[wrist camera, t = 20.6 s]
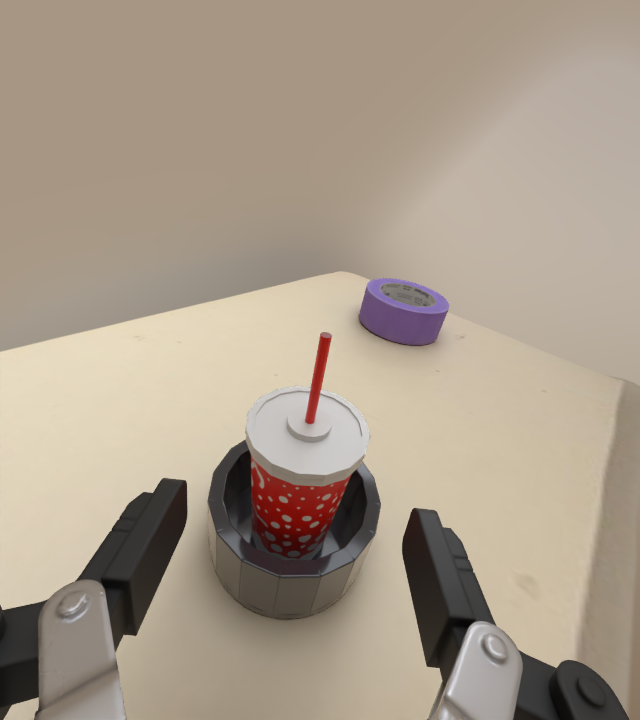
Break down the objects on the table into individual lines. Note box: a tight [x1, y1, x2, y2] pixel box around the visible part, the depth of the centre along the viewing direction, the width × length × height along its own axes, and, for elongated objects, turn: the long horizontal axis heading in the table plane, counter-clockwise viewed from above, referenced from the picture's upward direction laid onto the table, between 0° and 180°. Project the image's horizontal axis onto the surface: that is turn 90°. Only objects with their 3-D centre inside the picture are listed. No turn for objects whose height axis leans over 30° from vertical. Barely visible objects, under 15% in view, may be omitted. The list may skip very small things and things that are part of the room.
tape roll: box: [359, 278, 449, 345], centre depth 50 cm, size 12×12×5 cm
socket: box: [208, 440, 381, 619], centre depth 21 cm, size 10×10×4 cm
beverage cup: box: [246, 332, 370, 560], centre depth 18 cm, size 6×6×14 cm
